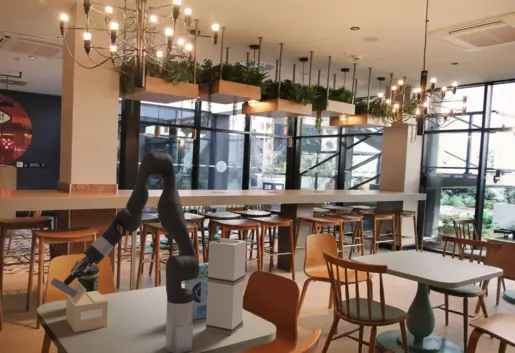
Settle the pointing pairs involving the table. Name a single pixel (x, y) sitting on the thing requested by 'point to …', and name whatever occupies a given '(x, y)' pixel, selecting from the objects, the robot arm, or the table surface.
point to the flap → (70, 289)
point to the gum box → (199, 291)
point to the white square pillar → (225, 285)
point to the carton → (87, 312)
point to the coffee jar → (90, 279)
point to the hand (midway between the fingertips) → (65, 283)
